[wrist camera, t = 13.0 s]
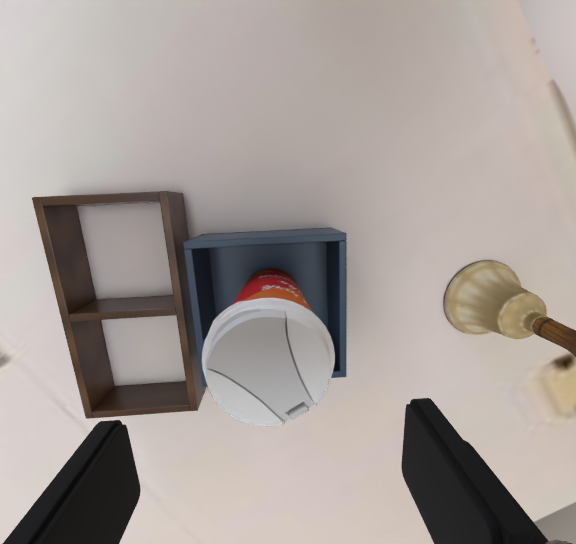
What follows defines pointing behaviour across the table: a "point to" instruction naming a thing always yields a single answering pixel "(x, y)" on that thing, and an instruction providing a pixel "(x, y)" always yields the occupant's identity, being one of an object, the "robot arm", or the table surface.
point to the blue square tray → (262, 255)
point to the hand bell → (501, 306)
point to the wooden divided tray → (117, 307)
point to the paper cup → (268, 353)
